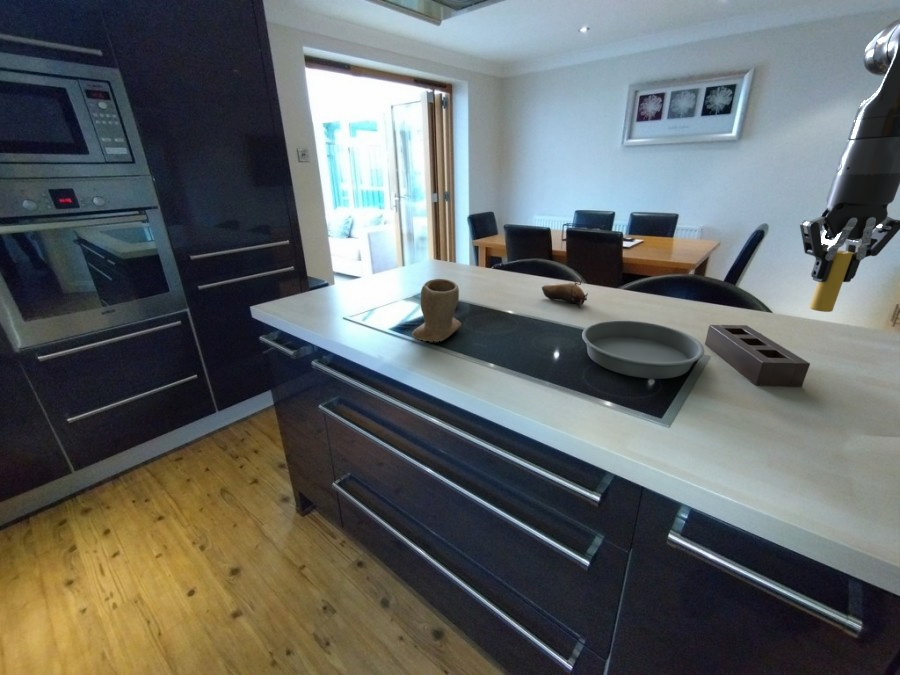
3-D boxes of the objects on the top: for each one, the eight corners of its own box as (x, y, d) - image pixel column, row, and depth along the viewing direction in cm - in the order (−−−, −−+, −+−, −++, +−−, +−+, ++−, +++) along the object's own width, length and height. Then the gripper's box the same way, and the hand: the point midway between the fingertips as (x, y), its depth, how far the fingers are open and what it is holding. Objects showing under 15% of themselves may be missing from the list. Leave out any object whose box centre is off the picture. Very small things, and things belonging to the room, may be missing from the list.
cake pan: (656, 396, 73) (660, 375, 71) (557, 351, 92) (559, 334, 90) (723, 362, 84) (728, 343, 83) (623, 329, 104) (625, 313, 102)
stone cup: (446, 349, 95) (444, 290, 90) (406, 341, 101) (401, 285, 95) (472, 328, 108) (472, 275, 102) (435, 322, 113) (433, 271, 107)
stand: (741, 344, 93) (746, 325, 91) (802, 386, 74) (810, 363, 72) (704, 344, 94) (709, 324, 92) (755, 385, 75) (762, 362, 73)
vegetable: (530, 294, 126) (539, 265, 125) (541, 302, 135) (550, 275, 135) (578, 305, 117) (588, 274, 117) (586, 313, 126) (595, 283, 126)
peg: (823, 306, 69) (843, 250, 66) (837, 312, 67) (858, 253, 63) (805, 306, 70) (823, 250, 66) (817, 311, 67) (837, 253, 63)
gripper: (836, 173, 57) (800, 287, 64) (947, 168, 55) (898, 286, 62) (800, 173, 64) (771, 276, 71) (898, 169, 62) (858, 275, 69)
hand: (830, 280), depth 66 cm, fingers closed on peg, 3 cm apart
